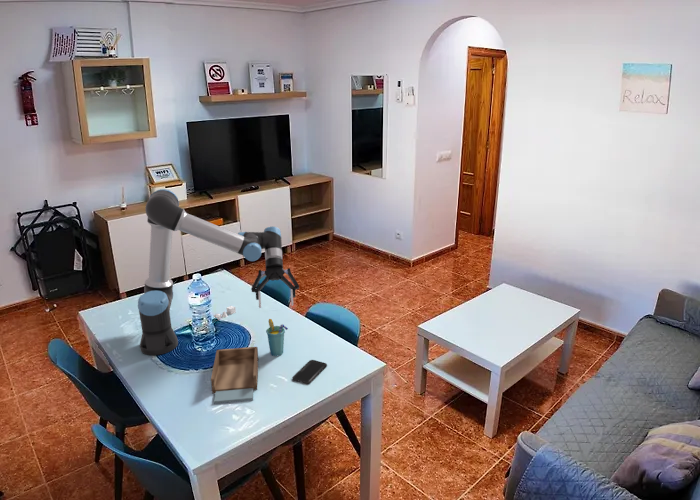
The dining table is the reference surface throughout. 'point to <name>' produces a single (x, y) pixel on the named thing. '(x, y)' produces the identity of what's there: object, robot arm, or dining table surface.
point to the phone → (309, 372)
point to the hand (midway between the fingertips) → (276, 305)
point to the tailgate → (233, 395)
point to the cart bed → (235, 369)
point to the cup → (276, 338)
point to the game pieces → (229, 310)
